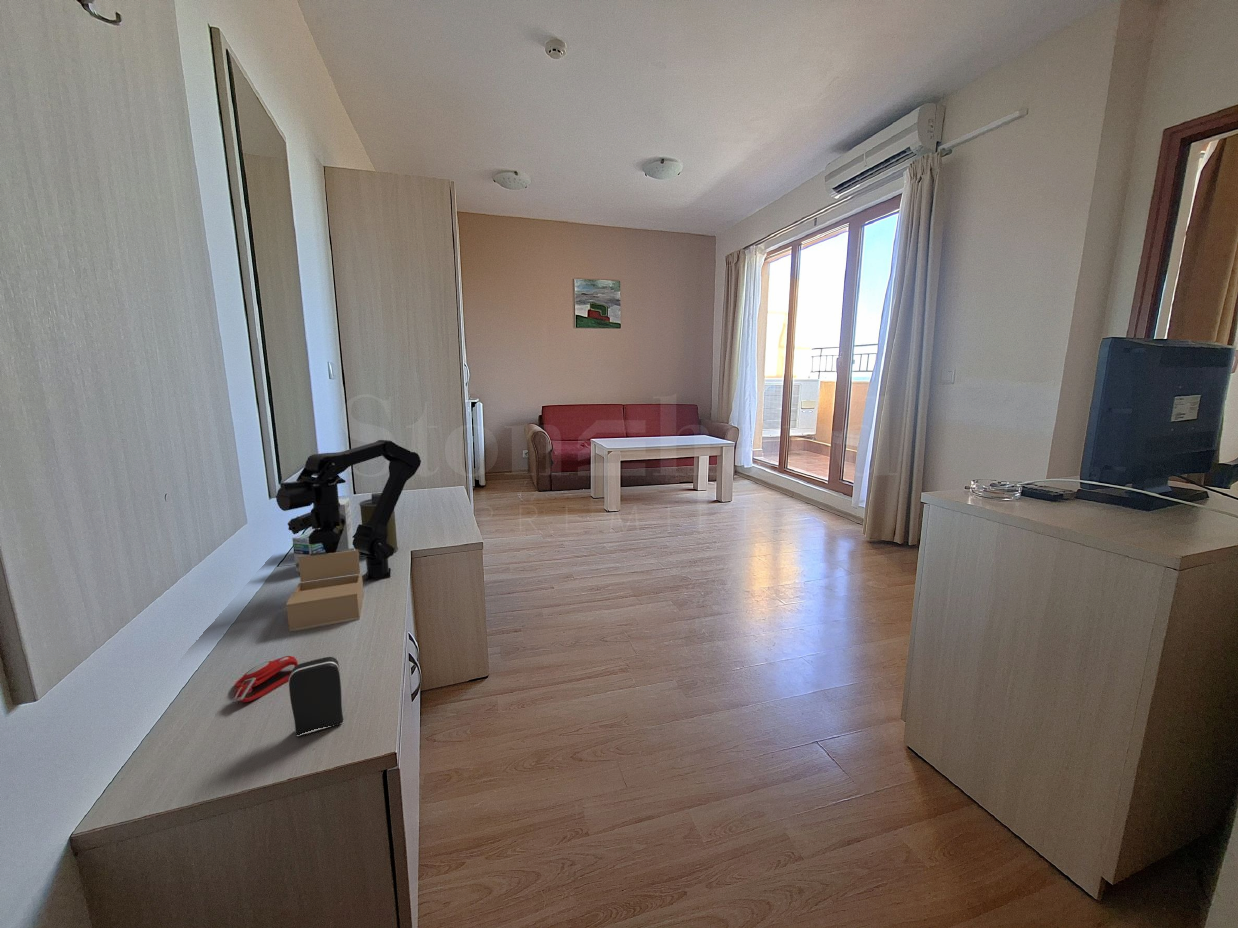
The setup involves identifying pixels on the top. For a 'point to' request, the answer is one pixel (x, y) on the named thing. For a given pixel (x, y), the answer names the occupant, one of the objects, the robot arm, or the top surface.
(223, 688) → the top surface
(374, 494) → the canister
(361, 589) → the kraft carton
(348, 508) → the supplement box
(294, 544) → the light bulb box
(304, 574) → the carton flap
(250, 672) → the tracker holder
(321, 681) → the battery charger
